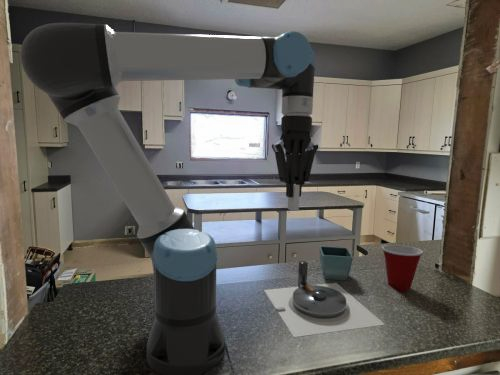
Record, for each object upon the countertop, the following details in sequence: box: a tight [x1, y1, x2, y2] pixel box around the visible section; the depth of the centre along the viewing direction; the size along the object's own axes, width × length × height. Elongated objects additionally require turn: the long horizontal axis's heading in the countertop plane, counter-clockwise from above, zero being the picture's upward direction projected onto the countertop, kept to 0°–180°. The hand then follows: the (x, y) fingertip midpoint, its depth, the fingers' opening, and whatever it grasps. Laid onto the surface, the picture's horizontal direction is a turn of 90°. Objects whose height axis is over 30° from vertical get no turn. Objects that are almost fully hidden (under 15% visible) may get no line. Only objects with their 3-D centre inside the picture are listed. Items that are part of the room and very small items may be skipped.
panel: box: [263, 282, 385, 338], centre depth 81 cm, size 22×22×2 cm
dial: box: [293, 260, 346, 319], centre depth 82 cm, size 17×13×8 cm
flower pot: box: [319, 245, 354, 281], centre depth 99 cm, size 9×9×9 cm
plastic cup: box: [381, 244, 424, 293], centre depth 94 cm, size 11×11×12 cm
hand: (293, 209), depth 83 cm, fingers closed
